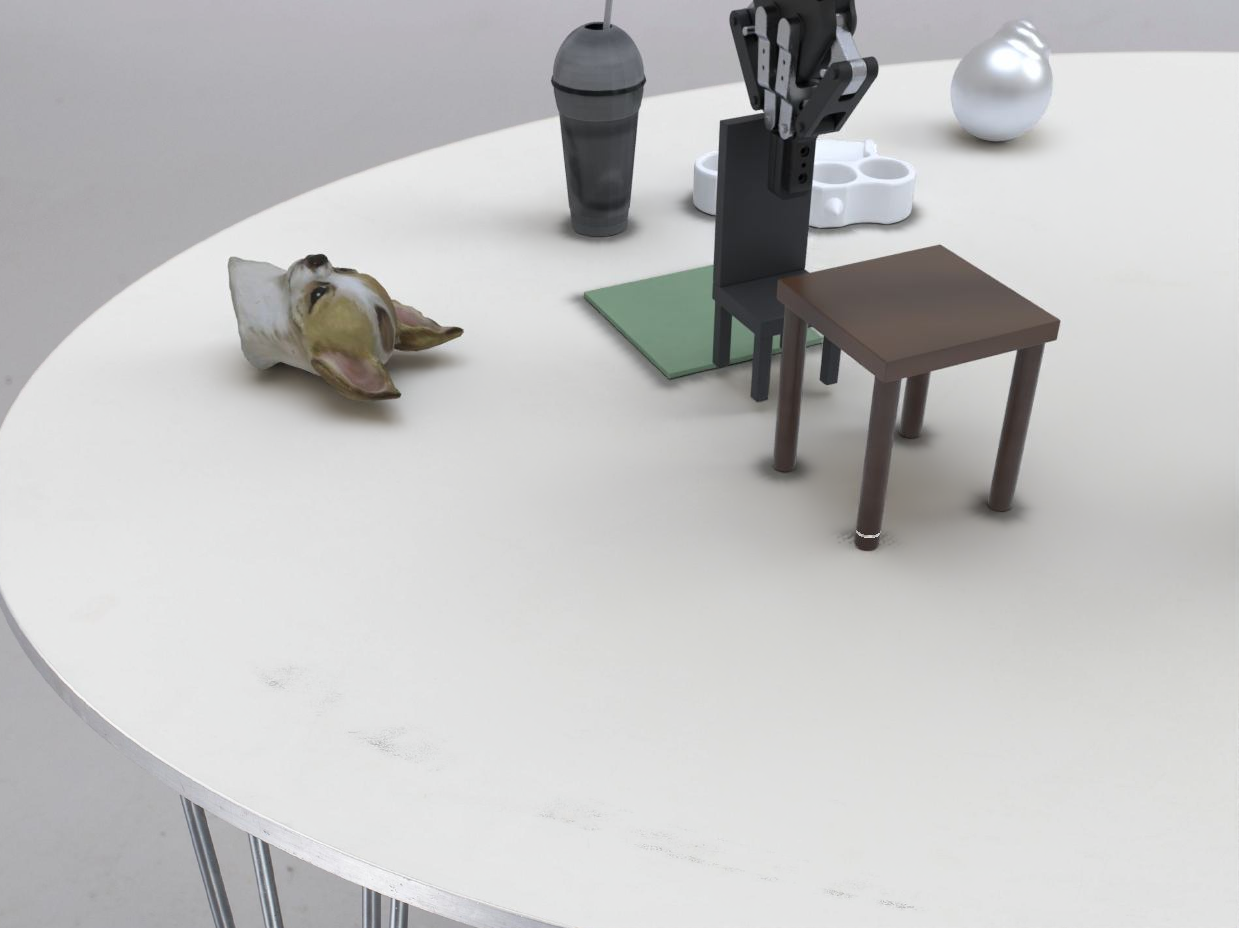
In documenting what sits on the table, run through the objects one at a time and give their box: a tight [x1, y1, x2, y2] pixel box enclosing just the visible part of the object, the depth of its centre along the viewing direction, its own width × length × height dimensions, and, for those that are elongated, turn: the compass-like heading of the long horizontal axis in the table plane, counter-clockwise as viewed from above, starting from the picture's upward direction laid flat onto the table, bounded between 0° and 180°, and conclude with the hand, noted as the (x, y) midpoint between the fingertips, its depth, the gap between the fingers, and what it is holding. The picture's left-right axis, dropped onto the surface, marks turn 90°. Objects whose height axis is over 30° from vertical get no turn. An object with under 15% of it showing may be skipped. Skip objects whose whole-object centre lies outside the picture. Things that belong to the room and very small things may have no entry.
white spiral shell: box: [949, 18, 1054, 142], centre depth 128 cm, size 9×10×10 cm
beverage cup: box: [550, 0, 647, 237], centre depth 111 cm, size 7×7×20 cm
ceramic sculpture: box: [227, 253, 465, 402], centre depth 96 cm, size 11×9×15 cm
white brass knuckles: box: [692, 139, 917, 229], centre depth 120 cm, size 3×18×15 cm
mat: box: [583, 264, 823, 380], centre depth 104 cm, size 14×12×1 cm
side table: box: [772, 243, 1061, 551], centre depth 83 cm, size 11×11×12 cm
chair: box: [712, 112, 842, 403], centre depth 91 cm, size 6×6×16 cm
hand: (788, 193), depth 88 cm, fingers closed
